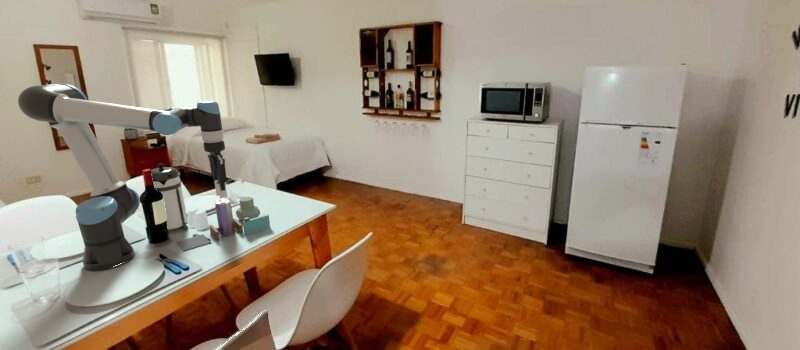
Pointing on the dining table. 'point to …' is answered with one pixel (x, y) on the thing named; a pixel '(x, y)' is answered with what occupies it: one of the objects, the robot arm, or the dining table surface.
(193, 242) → the mat
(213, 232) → the holder
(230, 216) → the beverage can
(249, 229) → the teal box
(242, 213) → the air freshener
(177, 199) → the coffee press
